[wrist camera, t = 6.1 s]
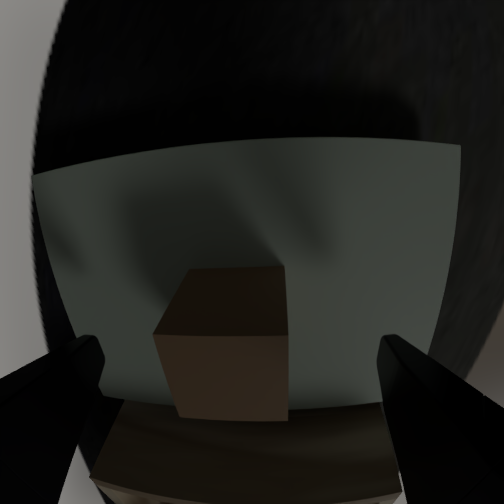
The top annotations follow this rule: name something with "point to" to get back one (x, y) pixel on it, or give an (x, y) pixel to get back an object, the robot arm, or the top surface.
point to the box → (248, 458)
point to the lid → (252, 267)
